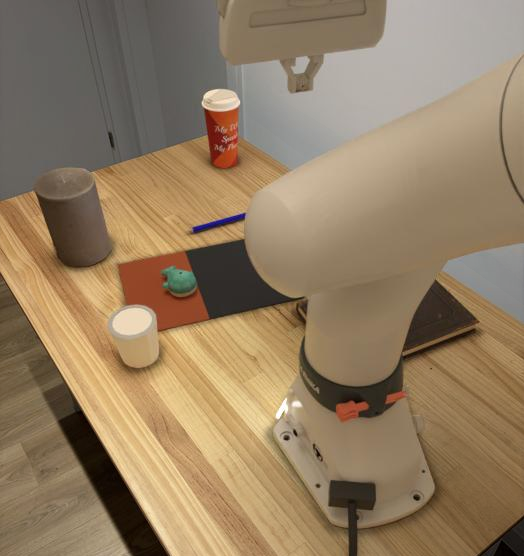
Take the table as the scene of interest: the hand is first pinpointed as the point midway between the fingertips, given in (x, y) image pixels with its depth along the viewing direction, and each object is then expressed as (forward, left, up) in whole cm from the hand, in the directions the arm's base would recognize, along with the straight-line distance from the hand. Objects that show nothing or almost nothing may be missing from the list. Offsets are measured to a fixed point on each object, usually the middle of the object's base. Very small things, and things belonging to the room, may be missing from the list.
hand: (299, 90), depth 71 cm
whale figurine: (+3, +19, -31) cm, 37 cm away
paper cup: (+40, +1, -31) cm, 51 cm away
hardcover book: (-15, -10, -31) cm, 36 cm away
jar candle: (-10, +28, -31) cm, 43 cm away
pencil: (+18, +6, -31) cm, 36 cm away
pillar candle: (+18, +33, -31) cm, 49 cm away
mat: (+3, +14, -31) cm, 34 cm away
